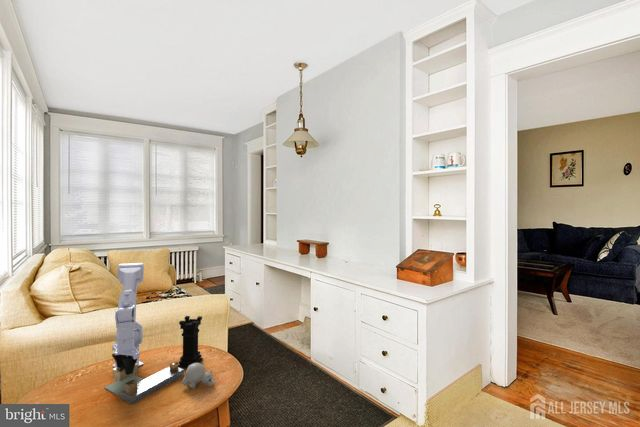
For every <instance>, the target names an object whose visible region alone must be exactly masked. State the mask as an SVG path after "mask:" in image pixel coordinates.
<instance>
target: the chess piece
mask: <svg viewBox="0 0 640 427" xmlns="http://www.w3.org/2000/svg"><path fill="white" fill-rule="evenodd" d="M202 320H203V316H199V315H198V316H197V317H196V318H191V317H190V315H186V316H184V320H179V321H178V325H179V326H180V328H179V329H180V330H182V333H181V337H182V355H181V356H180V358H179V361H178V367H179V368H181V369H187V368H188V366H189V365H191V364H193V363H200V364H201V363H202V361H203V360H204V358H203V357H202V356H203V354H201V351H199V332H200V329H199V326H200V325H202Z"/></svg>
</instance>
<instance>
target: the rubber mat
mask: <svg viewBox="0 0 640 427" xmlns="http://www.w3.org/2000/svg"><path fill="white" fill-rule="evenodd" d="M133 379H134V380H136V381H137V383H138V382H140V381H142V380H144V379H145V378H142V377H140V376H138V375H136V374H135V375H132V376H130V377H128V378H126V379H124V380H122V381H118V380H116V381H114V382H112V383H110V384H108V385H106V386H103V387H104V389H105V390H106V391H108V392H110V393H113V394H114V395H117V396H119V397H120V391H122V390H124V389H125V383H127V382H129V381H131V380H133Z"/></svg>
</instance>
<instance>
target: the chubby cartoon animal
mask: <svg viewBox="0 0 640 427" xmlns="http://www.w3.org/2000/svg"><path fill="white" fill-rule="evenodd" d="M212 373H213V370H210V371H206V368H205V365H204V364H202V363H201V362H200V363H193V364H191V365H189V366H188V368H186V371H185V375H184V376H183V379H182V381H181V384H182V385H183V386H188V387H189V389H193V390H194V389H195V388H196V387H197V384H198V383H199V382H201V383H202V384H205V385H206V386H208V387H212V386H213V384H214V383H215V382H216V379H213V374H212Z"/></svg>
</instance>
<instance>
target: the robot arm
mask: <svg viewBox="0 0 640 427" xmlns="http://www.w3.org/2000/svg"><path fill="white" fill-rule="evenodd" d="M144 265H145V264H144V263H143V262H134V263H119V264H118V265H117V279H118V281H119V284H122V288H123V290H122V292H121V293H119V295H118V296H119V297H118V303H117V304H118V305H117V308H116V310H115V313H114V320H115V328H116V333H115V341H114V342H115V344H112V345H111V348H112V349H111V350H112V351H114V352H113V353H112V354H111V357H112V358H113V360H114V364H113V365H112V367H113V368H117V366H119V365H122V364H125V369H126V374H127V375H129V374H131V373H133V370H134V366H135V363H136V364H138V368H139V367H141V366H142V365H144V362H142V361H140V357H141V354H140V353H141V352H140V345H141V344H142V343H143V336H144V333H143V332H144V330H143V325H142V324H141V323H139V322H138V321H136V319H137V292H138V288H139V287H138V286H139V284H140V283H143V282H144V281H143V280H144V274H145V273H144V272H145V266H144Z"/></svg>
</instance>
